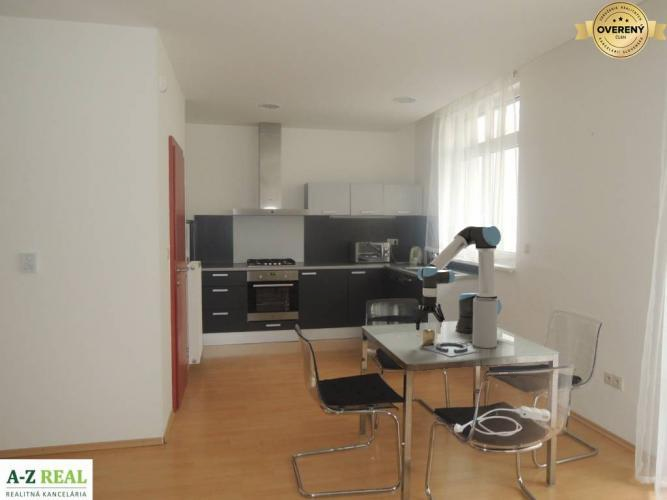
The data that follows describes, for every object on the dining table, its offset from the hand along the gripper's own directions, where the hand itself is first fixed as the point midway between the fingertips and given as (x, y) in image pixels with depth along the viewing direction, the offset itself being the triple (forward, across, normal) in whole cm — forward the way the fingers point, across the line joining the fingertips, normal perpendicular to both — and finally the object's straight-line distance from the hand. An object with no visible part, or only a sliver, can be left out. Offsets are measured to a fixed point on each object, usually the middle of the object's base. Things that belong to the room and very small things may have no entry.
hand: (428, 334), depth 266 cm
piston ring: (+6, -4, +13) cm, 15 cm away
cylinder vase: (+6, -26, +15) cm, 31 cm away
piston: (+6, 0, 0) cm, 6 cm away
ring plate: (+6, -4, +13) cm, 15 cm away
